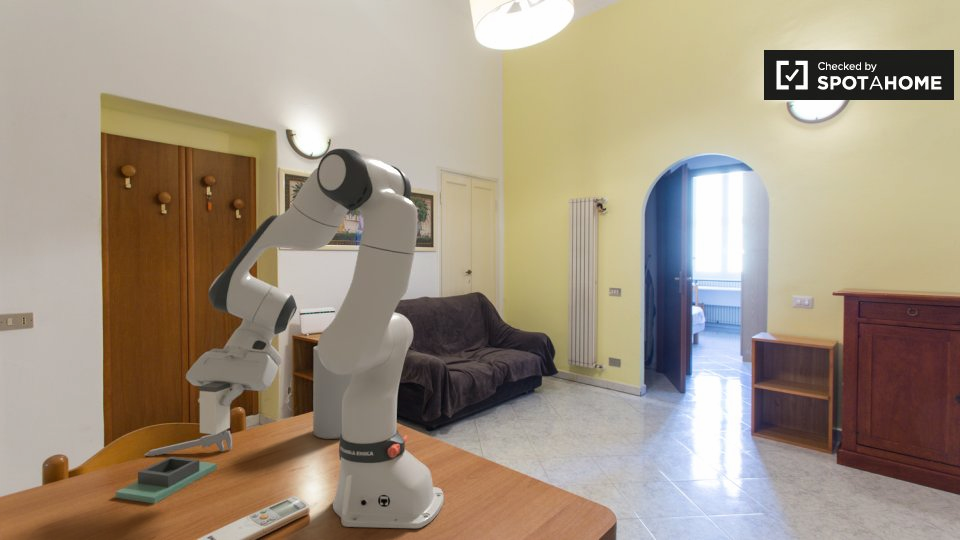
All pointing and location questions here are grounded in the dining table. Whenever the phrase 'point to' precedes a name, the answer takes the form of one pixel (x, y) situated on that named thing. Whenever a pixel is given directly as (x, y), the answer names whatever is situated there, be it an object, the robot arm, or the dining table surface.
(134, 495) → the socket
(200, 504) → the dining table surface
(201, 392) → the plug
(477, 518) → the dining table surface
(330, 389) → the cylinder vase
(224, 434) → the caliper
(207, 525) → the dining table surface
